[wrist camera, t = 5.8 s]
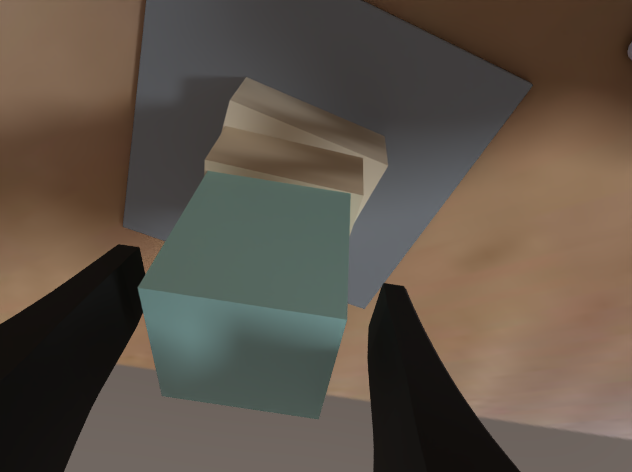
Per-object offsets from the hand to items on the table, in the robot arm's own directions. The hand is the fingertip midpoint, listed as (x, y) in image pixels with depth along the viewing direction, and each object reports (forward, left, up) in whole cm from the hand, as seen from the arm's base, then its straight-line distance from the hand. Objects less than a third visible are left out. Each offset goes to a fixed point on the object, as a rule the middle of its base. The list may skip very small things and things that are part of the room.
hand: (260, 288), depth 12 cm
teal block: (0, 0, -2) cm, 2 cm away
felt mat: (0, 0, -8) cm, 8 cm away
